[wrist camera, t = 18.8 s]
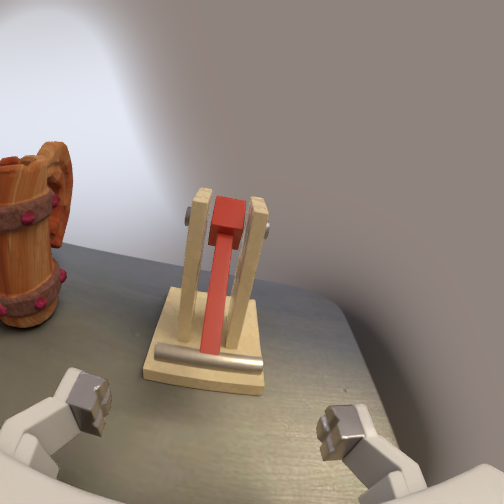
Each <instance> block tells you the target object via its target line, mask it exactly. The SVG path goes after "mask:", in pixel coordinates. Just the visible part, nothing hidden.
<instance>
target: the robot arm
mask: <svg viewBox="0 0 504 504" xmlns="http://www.w3.org/2000/svg"><path fill="white" fill-rule="evenodd" d="M108 386H109V382H108V379H107V378H103V377H100V376H97V375H94V374H91V373H87V372H84V371H82V370H78V369H75V368H72V367H70V368H69V369H68V370H67V371H66V373H65V375H64V377H63V379H62V381H61V383H60V384H59V386H58V388H57V390H56V392H55V394H54V396H53V398H52V397H48V398H46V399H44V400H42V401H41V402H39V403H37V404H35V405H33V406H31V407H29V408H28V409H26V410H24V411H22V412H20V413H18V414H16V415H14V416H13V417H11V418H9V419H7V420H5V422H4V424H3V426H2V428H1V430H0V504H126V503H122V502H119V501H115V500H112V499H108V498H105V497H102V496H99V495H96V494H93V493H90V492H87V491H84V490H81V489H79V488H76V487H73V486H71V485H68V484H66V483H63V482H61V481H59V480H56V478H57V474H58V471H59V467H58V465H57V464H56V463H55V462H54V460H53V459H52V458H51V455H52V454H54V453H55V452H56V451H57V450H59V449H60V448H61V447H63V446H64V445H65V444H66V443H68V442H69V441H70V440H71V439H73V438H74V437H75V436H76V435H78V434H79V433H80V432H81V431H83V432H86V433H89V434H92V435H96V436H99V437H101V436H102V433H103V430H104V427H105V424H106V423H105V420H104V417H105V416H107V415H108V414H109V412H110V409H111V403H112V395H111V392H110V391H109V390H108ZM325 414H326V415H324V416H322V417H321V418H320V419H319V421H318V423H317V428H316V429H317V437H318V439H319V440H320V441H321V442H322V445H321V446H320V451H321V455H322V459H323V461H331V460H342V461H343V462H344V463H345V465H346V466H347V467H348V468H349V469H350V470H351V471H352V472H353V473H354V474H355V476H356V477H357V478H358V479H359V480H360V481H361V482H362V483H363V484H364V485H365V486H366V487H367V488H368V490H367V491H365V492H364V493H363V494H361V495H360V496H359V498H358V499H359V503H360V504H504V473H503V472H501V471H499V470H498V469H496V468H494V467H492V466H491V465H488V464H481V465H478V466H476V467H474V468H472V469H470V470H468V471H466V472H464V473H462V474H460V475H458V476H456V477H453V478H451V479H449V480H447V481H444V482H442V483H440V484H437V485H434V486H432V487H429V488H427V485H426V483H425V480H424V478H423V475H422V473H421V470H420V468H419V466H418V464H417V463H416V462H414V461H413V460H412V459H410V458H409V457H408V456H407V455H405V454H404V453H403V452H401V451H400V450H399V449H398V448H396V447H395V446H394V445H392V444H391V443H390V442H389V441H387V440H386V439H385V438H384V437H382V436H381V435H377V432H376V430H375V427H374V425H373V422H372V420H371V417H370V415H369V412H368V409H367V407H366V406H365V405H364V404H360V405H335V406H328V407H327V408H326V410H325Z"/></svg>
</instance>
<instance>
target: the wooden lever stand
mask: <svg viewBox="0 0 504 504" xmlns="http://www.w3.org/2000/svg"><path fill="white" fill-rule="evenodd" d="M212 192H213V190H212V189H207V188H200V189H199V191H198V193H197V194H196V196H195V198H194V199H193V201H192V207H188V208H187V211H186V216H185V226H189V229H188V236H187V244H186V252H185V261H184V269H183V278H182V288H175V287H171V288H170V291H169V294H168V296H167V299H166V302H165V305H164V308H163V310H162V313H161V316H160V319H159V322H158V325H157V327H156V330H155V333H154V336H153V339H152V342H151V345H150V348H149V351H148V354H147V357H146V360H145V364H144V367H143V378H144V379H147V380H152V381H157V382H162V383H167V384H173V385H178V386H184V387H190V388H197V389H204V390H211V391H219V392H227V393H237V394H247V395H259V396H261V395H262V392H263V389H264V387H265V385H264V376H263V371H262V374H261V375H249V374H240V373H231V372H223V371H215V370H208V369H201V368H195V367H189V366H183V365H177V364H171V363H166V362H161V361H156V360H154V348H155V344H156V342H162V343H167V344H173V345H178V346H184V347H190V348H196V349H200V344H201V337H202V330H203V323H204V316H205V309H206V302H207V295H208V293H204V292H198V283H199V276H200V269H201V262H202V255H203V248H204V241H205V235H206V229H207V222H208V216H209V210H210V204H211V198H212ZM268 217H269V213H268V210H267V207H266V205H265V202H264V199H262V198H258V197H253V196H252V197H251V199H250V205H249V209H248V214H247V218H246V223H245V228H244V233H243V238H242V243H241V247H240V252H239V257H238V262H237V267H236V272H235V277H234V282H233V287H232V292H231V297H229V296H226V301H225V310H224V319H223V328H222V337H221V346H220V352H223V353H231V354H239V355H247V356H256V357H261V349H260V340H259V331H258V322H257V312H256V303H255V300H249V299H250V294H251V290H252V286H253V282H254V277H255V273H256V268H257V265H258V260H259V256H260V252H261V248H262V243H263V239H266V238H267V236H268V233H269V227H270V222H269V221H268Z"/></svg>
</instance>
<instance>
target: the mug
mask: <svg viewBox="0 0 504 504" xmlns="http://www.w3.org/2000/svg"><path fill="white" fill-rule="evenodd" d="M72 188H73V174H72V164H71V159H70V155H69V151H68V148H67V146H66V145H65V144H64V143H63V142H56V141H55V142H46V143H44V145H42V147H41V149H40V150H39V152H38V153H37V155H36V156H35V155H29V156H25V157H23V158H21V159H19V158H18V157H16V156H15V157H7V158H3V159H2V160H1V161H0V319H1V320H2V322H3V323H5V324H7V325H9V326H14V327H19V328H26V327H32V326H35V325H38V324H41V323H42V322H44V321H45V320H46V319H48V318H49V317H50V316H51V315H52V314H53V312H54V310H55V308H56V305H57V303H58V293H59V291H60V288H61V284H62V283H63V282H64V281H65V280H66V278H67V275H66V272H65V270H63V269H60V268H59V265H58V262H57V261H56V260H55V259H54V258H53V257H52V252H51V247H52V248H60V247H61V246H62V240H63V237H64V233H65V229H66V225H67V222H68V218H69V213H70V204H71V197H72Z"/></svg>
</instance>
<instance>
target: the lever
mask: <svg viewBox="0 0 504 504" xmlns="http://www.w3.org/2000/svg"><path fill="white" fill-rule="evenodd" d="M245 209H246V201H244V200H238V199H232V198H227V197H221V196H217V197H216V201H215V206H214V211H213V216H212V221H211V226H210V233H209V242H208V245H211V246H215V252H214V258H213V264H212V270H211V276H210V282H209V289H208V295H207V302H206V309H205V316H204V323H203V330H202V337H201V344H200V349H196V348H190V347H184V346H178V345H173V344H167V343H162V342H156V344H155V348H154V360H156V361H161V362H166V363H171V364H177V365H183V366H189V367H195V368H201V369H208V370H215V371H223V372H231V373H240V374H249V375H261V374H262V371H263V365H264V361H263V358H262V357H256V356H247V355H239V354H231V353H223V352H220V346H221V337H222V328H223V319H224V310H225V301H226V293H227V284H228V276H229V268H230V260H231V252H232V249H234V250H238V247H239V243H240V240H241V236H242V233H243V228H244V219H245Z"/></svg>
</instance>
